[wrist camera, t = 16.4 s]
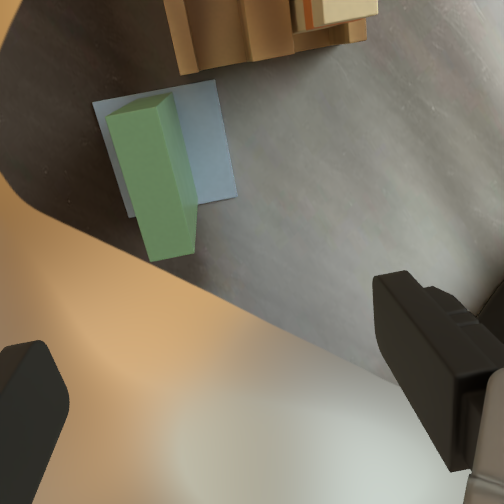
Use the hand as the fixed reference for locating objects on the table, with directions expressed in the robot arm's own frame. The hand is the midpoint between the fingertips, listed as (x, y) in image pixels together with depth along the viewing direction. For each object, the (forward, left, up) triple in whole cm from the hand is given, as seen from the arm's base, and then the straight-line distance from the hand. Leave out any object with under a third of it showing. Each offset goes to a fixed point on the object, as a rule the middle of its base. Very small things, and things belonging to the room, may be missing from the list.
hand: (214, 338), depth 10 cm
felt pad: (-5, -2, -36) cm, 36 cm away
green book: (-5, -2, -35) cm, 36 cm away
